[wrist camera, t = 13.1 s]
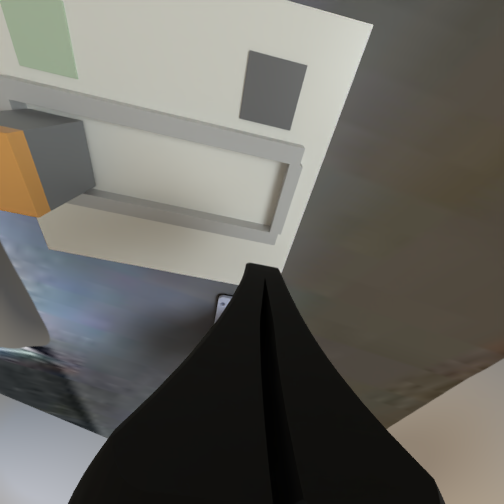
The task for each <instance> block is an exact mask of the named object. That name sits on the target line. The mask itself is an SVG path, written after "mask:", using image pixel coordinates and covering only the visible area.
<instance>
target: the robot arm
mask: <svg viewBox="0 0 504 504" xmlns="http://www.w3.org/2000/svg"><path fill="white" fill-rule="evenodd" d="M222 302H223V303H222ZM68 504H445V502H444V500H443V497H442V495H441V493H440V491H439V489H438V487H437V485H436V482H435V480H434V479H433V478H432V477H431V476H430V475H429V474H428V472H427V471H426V470H425V469H423V467H422V466H421V465H420V464H419V463H418V462H417V461H416V460H415V459H414V458H413V457H412V456H411V455H410V454H409V453H408V452H407V451H406V450H405V449H404V448H403V447H402V446H401V445H400V443H399V442H398V441H396V439H395V438H394V437H393V436H392V435H391V434H390V433H389V432H388V431H387V430H386V429H385V428H384V426H383V425H382V424H381V423H380V422H379V421H378V420H377V419H376V417H375V416H374V415H373V414H372V413H371V412H370V411H369V410H368V408H367V407H366V406H365V405H364V404H363V403H362V401H361V400H360V399H359V398H358V397H357V395H356V394H355V393H354V392H353V390H352V389H351V388H350V387H349V385H348V384H347V383H346V382H345V380H344V379H343V378H342V377H341V375H340V374H339V373H338V372H337V370H336V369H335V367H334V366H333V365H332V363H331V362H330V361H329V359H328V358H327V356H326V355H325V354H324V352H323V351H322V349H321V348H320V346H319V345H318V343H317V342H316V340H315V338H314V337H313V335H312V334H311V332H310V330H309V329H308V327H307V325H306V324H305V322H304V320H303V318H302V317H301V315H300V313H299V311H298V309H297V307H296V305H295V303H294V301H293V299H292V297H291V295H290V293H289V291H288V289H287V287H286V284H285V282H284V280H283V277H282V275H281V273H280V270H279V269H278V268H275V267H270V266H265V265H260V264H255V263H250V262H249V263H247V264H246V266H245V270H244V274H243V277H242V279H241V281H240V284H239V286H238V287H237V289H236V291H235V293H234V295H233V297H232V296H227V295H221V296H219V299H218V305H217V310H216V316H215V322H214V325H213V326H212V328H211V329H210V330H209V332H208V333H207V334H206V336H205V337H204V338H203V339H202V340H201V342H200V343H199V344H198V345H197V346H196V348H195V349H194V350H193V351H192V352H191V354H190V355H189V356H188V357H187V358H186V359H185V360H184V361H183V363H182V364H181V365H180V366H179V367H178V368H177V369H176V370H175V371H174V372H173V373H172V374H171V375H170V376H169V377H168V378H167V379H166V380H165V382H164V383H163V384H162V385H161V386H160V387H159V388H158V389H157V390H156V391H155V392H154V393H153V394H152V395H151V396H150V397H149V398H148V399H147V400H146V401H144V402H143V403H142V404H141V405H140V406H139V407H138V408H137V409H136V410H135V411H134V412H133V413H132V414H131V415H130V416H129V417H128V418H127V419H126V420H124V421H123V422H122V423H121V424H120V425H119V426H118V427H117V428H116V429H115V430H114V431H113V433H112V434H111V435H110V437H109V438H108V439H107V441H106V443H105V444H104V445H103V446H102V448H101V449H100V451H99V452H98V453H97V455H96V456H95V458H94V459H93V461H92V462H91V464H90V465H89V467H88V468H87V470H86V471H85V473H84V475H83V476H82V478H81V480H80V482H79V483H78V485H77V487H76V489H75V490H74V492H73V495H72V496H71V499H70V501H69V503H68Z"/></svg>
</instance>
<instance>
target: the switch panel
mask: <svg viewBox="0 0 504 504" xmlns="http://www.w3.org/2000/svg"><path fill="white" fill-rule="evenodd" d="M372 28H373V25H372V24H369V23H365V22H361V21H358V20H354V19H351V18H347V17H344V16H340V15H337V14H333V13H330V12H326V11H323V10H319V9H315V8H312V7H308V6H305V5H301V4H298V3H294V2H291V1H287V0H0V111H4V110H17V109H33V110H38V111H42V112H46V113H51V114H55V115H59V116H64V117H68V118H72V119H77V120H81V121H83V125H84V130H85V135H86V140H87V145H88V149H89V154H90V159H91V164H92V169H93V174H94V179H95V184H96V186H95V187H93V188H92V189H90V190H88V191H86V192H84V193H83V194H81V195H79V196H77V197H75V198H74V199H72V200H70V201H68V202H66V203H65V204H63V205H61V206H59V207H57V208H56V209H54V210H52V211H50V212H48V213H47V214H45V215H43V216H41V217H39V218H38V217H36V218H37V220H38V223H39V225H40V228H41V230H42V233H43V235H44V238H45V240H46V243H47V246H48V248H49V249H51V250H56V251H62V252H67V253H72V254H77V255H83V256H88V257H93V258H99V259H104V260H109V261H114V262H120V263H125V264H130V265H136V266H141V267H146V268H152V269H157V270H162V271H167V272H173V273H178V274H183V275H189V276H194V277H199V278H204V279H210V280H215V281H220V282H226V283H231V284H236V285H239V284H240V281H241V279H242V277H243V274H244V270H245V266H246V264H247V263H249V262H250V263H255V264H260V265H265V266H270V267H275V268H278V269H279V270H280V273H282V270H283V267H284V264H285V262H286V259H287V256H288V254H289V251H290V248H291V246H292V243H293V240H294V238H295V235H296V232H297V229H298V227H299V224H300V221H301V219H302V216H303V213H304V211H305V208H306V205H307V203H308V200H309V197H310V194H311V192H312V189H313V186H314V184H315V181H316V178H317V176H318V173H319V170H320V168H321V165H322V162H323V159H324V157H325V154H326V151H327V149H328V146H329V143H330V141H331V138H332V135H333V133H334V130H335V127H336V124H337V122H338V119H339V116H340V114H341V111H342V108H343V106H344V103H345V100H346V98H347V95H348V92H349V89H350V87H351V84H352V81H353V79H354V76H355V73H356V71H357V68H358V65H359V63H360V60H361V57H362V54H363V52H364V49H365V46H366V44H367V41H368V38H369V36H370V33H371V30H372Z"/></svg>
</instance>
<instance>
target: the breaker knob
mask: <svg viewBox="0 0 504 504" xmlns="http://www.w3.org/2000/svg"><path fill="white" fill-rule="evenodd" d="M95 186H96V184H95V179H94V174H93V169H92V164H91V159H90V154H89V149H88V145H87V140H86V135H85V130H84V125H83V121H81V120H77V119H72V118H68V117H64V116H59V115H55V114H51V113H46V112H42V111H38V110H33V109H17V110H4V111H0V210H2V211H7V212H12V213H17V214H22V215H28V216H33V217H38V218H39V217H41V216H43V215H45V214H47V213H48V212H50V211H52V210H54V209H56V208H57V207H59V206H61V205H63V204H65V203H66V202H68V201H70V200H72V199H74V198H75V197H77V196H79V195H81V194H83V193H84V192H86V191H88V190H90V189H92V188H93V187H95Z"/></svg>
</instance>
